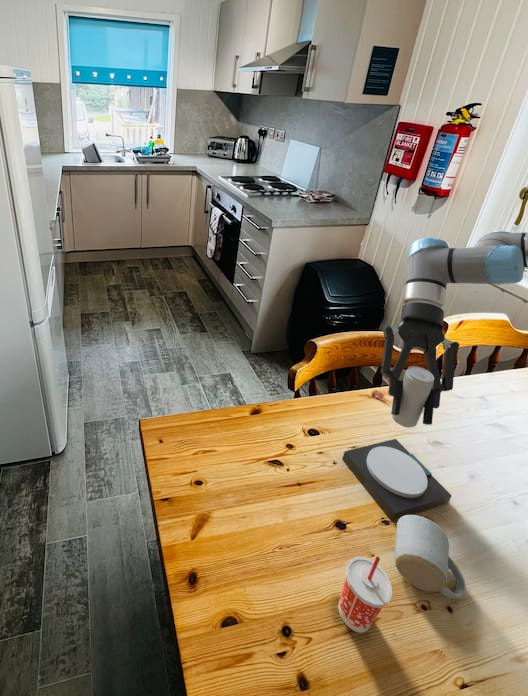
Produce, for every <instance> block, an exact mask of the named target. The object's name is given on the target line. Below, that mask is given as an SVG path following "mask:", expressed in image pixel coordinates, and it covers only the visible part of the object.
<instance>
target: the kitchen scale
mask: <svg viewBox="0 0 528 696" xmlns="http://www.w3.org/2000/svg"><path fill="white" fill-rule="evenodd" d="M341 459H342V461H343V462H344V463H345V465H346V466H347V467H348V469H349V470H350V471H351V472H352V474H353V475H354V476H355V477H356V479H357V480H358V481H359V482H360V483H361V485H362V486H363V487H364V488H365V490H366V491H367V492H368V494H369V495H370V496H371V497H372V499H373V500H374V502H376V504H377V506H379V508H380V509H381V510H382V512H383V513H384V514H385V515H386V517H387V519H389V520H390V521H391V522H394V521H398V520H399V519H400V518H401V517H402V516H405V515H418V514H420V513H423V512H426V511H429V510H432V509H436V508H439V507H442V506H445V505H448V504H449V502H450V501H451V499H452V494H451V493H450V492H449V491H448V490H447V489H446V488H445V487H444V486H443V485H442V484H441V483H440V482H439V481H438V480H437V479H436V478H435V477H434V476H433V473H432V472H431V471H430V470H429V469H428V468H427V467H426V466H425V465H424V464H423V463H422V462H421V461H420V460H419V459H418V458H417V457H416V456H415V455H414V454H413V453H411V452H410V451H408V450H407V448H406V447H404V445H402V444H401V442H399V440H398V439H397V438H393V439H388V440H385V441H381V442H377V443H372V444H368V445H364V446H360V447H356V448H352V449H348V450H344V451H343V455H342V457H341Z"/></svg>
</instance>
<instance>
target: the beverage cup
mask: <svg viewBox="0 0 528 696" xmlns="http://www.w3.org/2000/svg"><path fill="white" fill-rule="evenodd" d="M380 560H381V558H380V557H379V556H376V557H375V559H374V561H373V560H372V559H369V558H367V557H365V556H354V557H352V558H350V559H349V560H348V563H347V564H346V568H345V578H344V581H343V585H342V589H341V593H340V597H339V601H338V610H337V611H338V612H339V616H340V617H341V619H342V621H343V623H344V624H345V625H346V626H347V627H348V628H349V629H350V630H352V631H354V632H356V633H361V634H363V633H365V632H367V631H369V629H370V628H371V626H372V625H373V624H374V622H375V620H376V618H377V617H378V616H379V614H380V612H381V611H382V609H383V608H384V607H386V606H388V604H389V603H390V601H391V599H392V596H393V585H392V582H391V580H390V579H389V576H388V574H387V573H386V572H385V571H384V569H383V568H382V567H381V566H380V565H379V563H380Z"/></svg>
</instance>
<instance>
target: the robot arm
mask: <svg viewBox="0 0 528 696" xmlns="http://www.w3.org/2000/svg"><path fill="white" fill-rule="evenodd" d="M524 268H528V231H526V232H510V231H507V230H495V231H491V232H489V233H486V234H484V235H483V236H482V237H480V238H479V239H478V241H476V243H475V244H474V245H473V246H472V247H471V246H469V247H458V248H457V247H454V248H453V247H450V244H449V243H448V241H446V240H444V239H441V238H434V237H433V238H432V237H423V238H419V239H416V240H415V241H413V242H412V244H411V246H410V249H409V254H408V257H407V266H406V277H405V285H404V286H405V287H404V292H403V301H402V303H403V305H402V307H401V314H400V323H399V325H398V326H395V327H394V326H393V327H391V326H390V325H389V326H387V325H386V327H385V328H384V329H383V330H382V333H383V337H384V344H383V352H382V358H381V364H380V365H381V366H380V374H381V375H382V376H385V377H387V378H388V380H389V384H388V391H387V392H388V396H390V397H392V406H391V411H392V412H391V411H390V415H391V414H393V415H399V412H400V404H401V395H402V387H403V380H400V377H401V374H402V372H403V370H404V368H405V366H406V363H407V361H408V358H409V357H410V353H411V352H412V350H417V351H420V352H421V353H422V352H423V353H422V354H423V357H424V359H425V365H426V370H428V371H429V372H430V373H432V375H433V376H434V384H433V386H432V389H431V391H430V394H429V396H428V398H427V401H426V403H425V406H424V408H423V414H422V415H423V417H422V424H423V425H426V426H427V425H428V426H430V425H431V426H432V424H433V418H434V409H439V408H440V406H441V393H442V392H449V391H452V390H453V389H454V377H455V364H456V363H455V362H456V353H457V351H458V349H459V347H460V343H459V342H458V341H452V340H450V339H448V338H446V336H445V334H444V331H443V330H444V321H445V320H444V319H445V311H444V309H445V307H446V296H447V295H446V294H447V286H448V284H477V285H478V284H479V285H480V284H481V285H498V286H499V285H508V284H510V285H511V284H518V283H520V282H521V281H523V278H524V271H525V269H524ZM397 335H399V337H400V338H401V341H402V342H403V345H402V347H401V349H400V352H399V355H398V356H397V359H396V361H395V364H394V366H393V367H392V359H393V353H394V352H393V351H394V343H395V339H396V337H397ZM441 344H442V349H443V350H444V353H443V359H442V371H441V374H440V371H439V365H438V360H437V347H438V346H439V345H441ZM391 367H392V369H391ZM440 375H441V376H440Z"/></svg>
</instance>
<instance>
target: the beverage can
mask: <svg viewBox="0 0 528 696" xmlns="http://www.w3.org/2000/svg"><path fill="white" fill-rule="evenodd" d="M402 381H403V387H402V395H401V404H400V412H399V415H393V414H391V412H392V410H391V411H390V415H391V417H392V419H393V421H394V422H395V423H397V425H399V426H401V427H404V428H414V427H416V426H417V425H418V422H419V420H420V418H421V415H422V413H423V412H424V406H425V403H426V401H427V398H428V396H429V394H430V391H431V389H432V386H433V384H434V376H433V375H432V373H430V372H429V371H428V370H427V368H424V367H422V366H418V365H411V366H408V368H407V369H406V371H405V372H404V375H403V377H402Z"/></svg>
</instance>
